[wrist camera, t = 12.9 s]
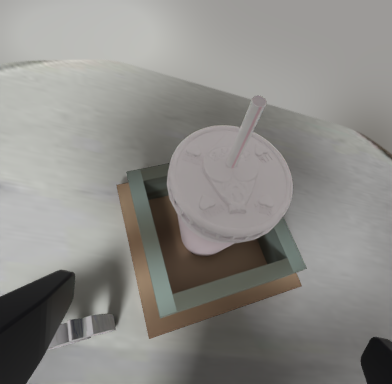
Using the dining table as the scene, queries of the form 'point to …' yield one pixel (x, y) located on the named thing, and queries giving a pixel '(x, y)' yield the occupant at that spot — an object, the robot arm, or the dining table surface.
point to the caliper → (82, 329)
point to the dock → (196, 260)
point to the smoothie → (228, 185)
